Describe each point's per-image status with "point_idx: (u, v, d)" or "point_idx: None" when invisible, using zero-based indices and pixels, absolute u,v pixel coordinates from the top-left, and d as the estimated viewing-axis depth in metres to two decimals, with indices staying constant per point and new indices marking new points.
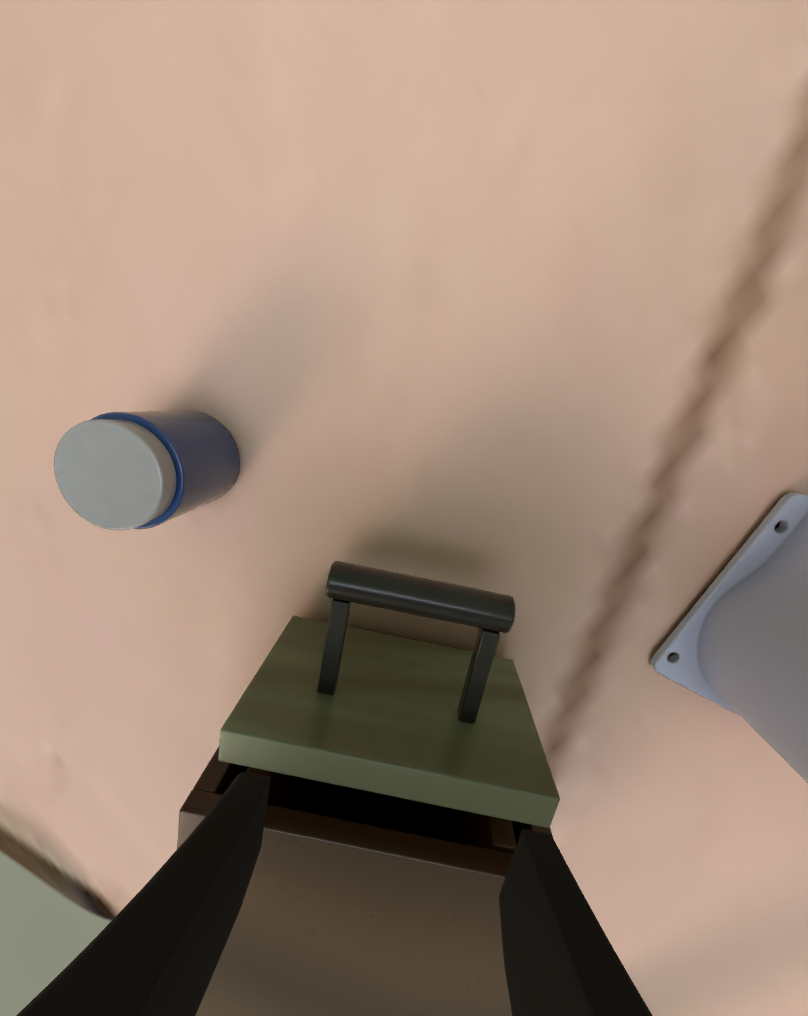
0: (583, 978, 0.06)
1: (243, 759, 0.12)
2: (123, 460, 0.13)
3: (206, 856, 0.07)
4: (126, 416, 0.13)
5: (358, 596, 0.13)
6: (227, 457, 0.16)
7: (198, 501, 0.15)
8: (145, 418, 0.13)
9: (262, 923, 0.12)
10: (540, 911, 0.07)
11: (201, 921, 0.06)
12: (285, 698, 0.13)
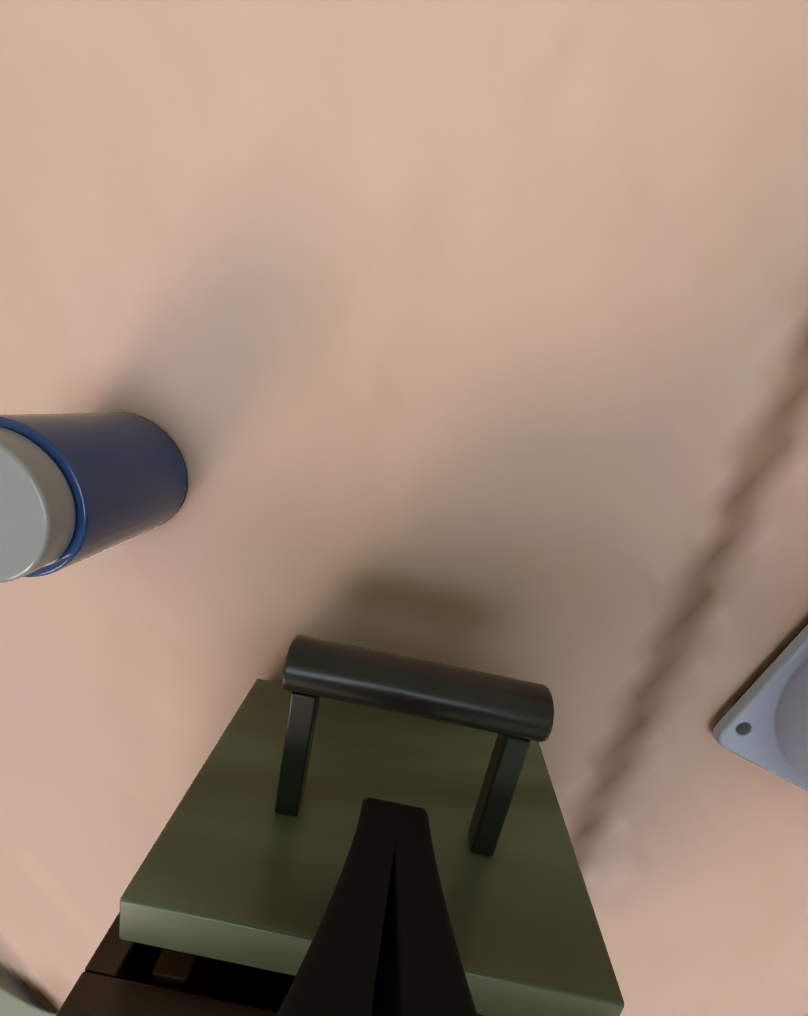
0: (404, 941, 0.06)
1: (156, 938, 0.08)
2: None
3: (369, 890, 0.07)
4: (0, 421, 0.09)
5: (328, 691, 0.09)
6: (165, 474, 0.12)
7: (121, 534, 0.11)
8: (28, 424, 0.09)
9: None
10: (391, 881, 0.07)
11: None
12: (227, 827, 0.10)
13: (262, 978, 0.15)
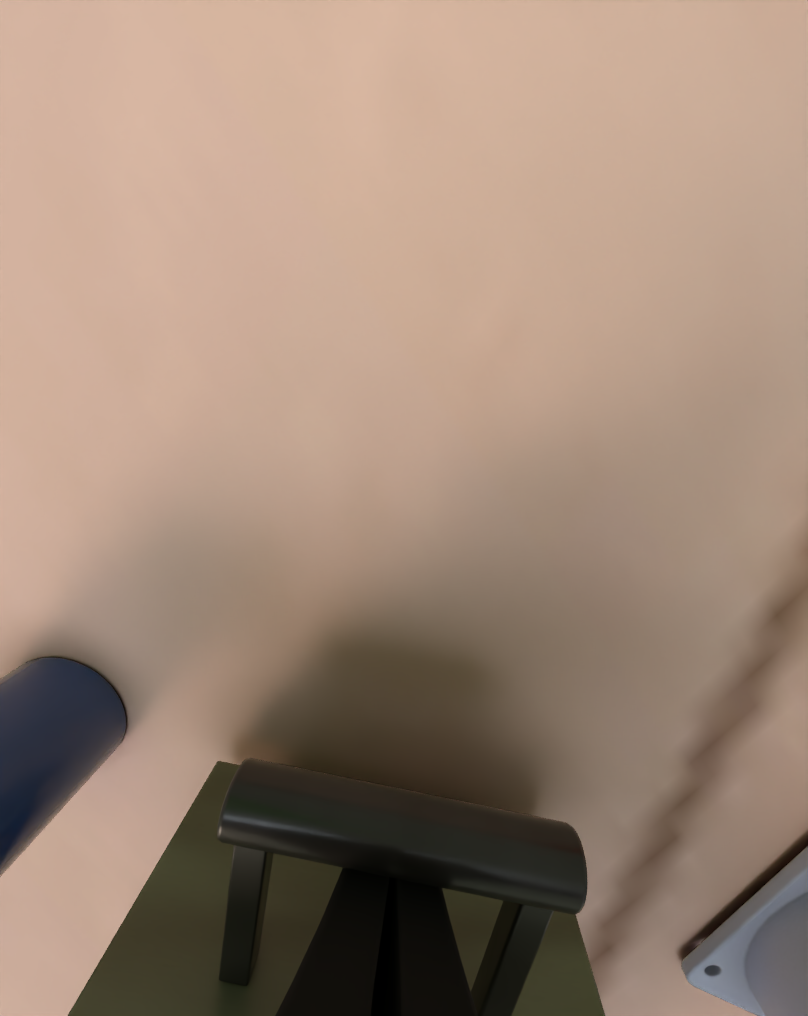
0: (404, 941, 0.06)
1: None
2: None
3: (369, 889, 0.07)
4: None
5: (279, 850, 0.06)
6: (98, 736, 0.12)
7: None
8: None
9: None
10: (392, 880, 0.07)
11: None
12: (152, 1012, 0.07)
13: None
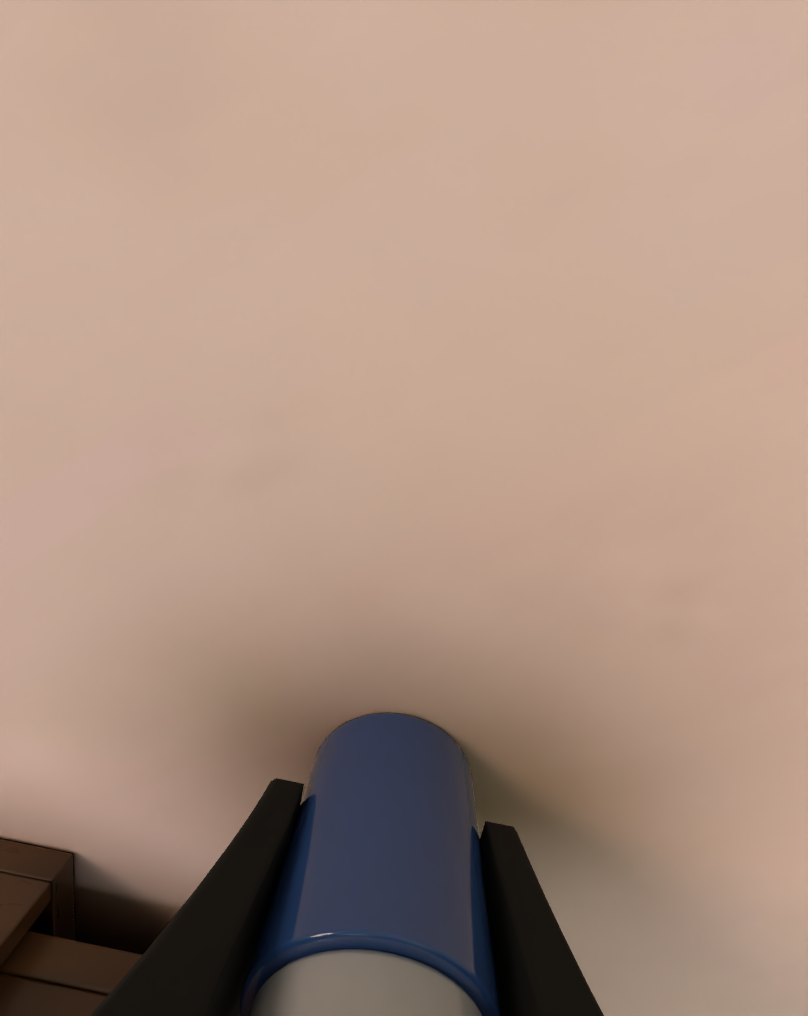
0: (531, 967, 0.06)
1: None
2: None
3: (249, 865, 0.07)
4: None
5: None
6: None
7: None
8: None
9: None
10: (497, 902, 0.07)
11: (247, 931, 0.06)
12: None
13: None
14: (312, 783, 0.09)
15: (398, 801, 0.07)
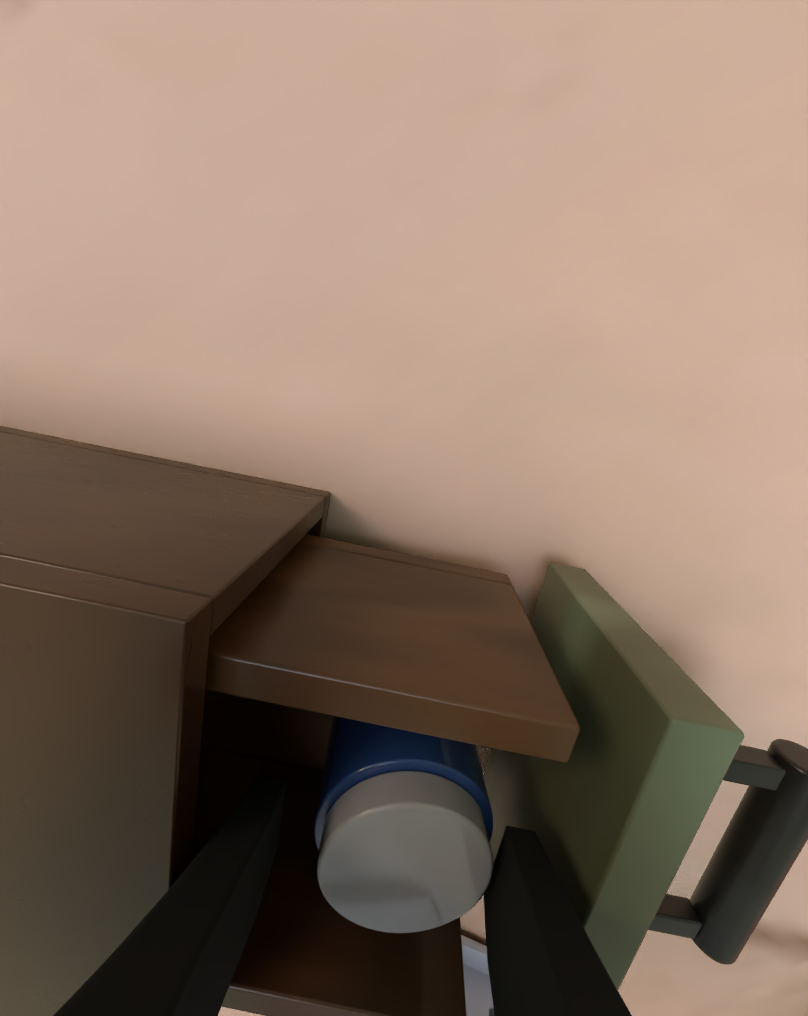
0: (560, 973, 0.06)
1: (673, 763, 0.07)
2: (431, 895, 0.08)
3: (227, 860, 0.07)
4: None
5: (804, 818, 0.09)
6: None
7: None
8: None
9: None
10: (521, 907, 0.07)
11: (224, 926, 0.06)
12: None
13: None
14: None
15: None
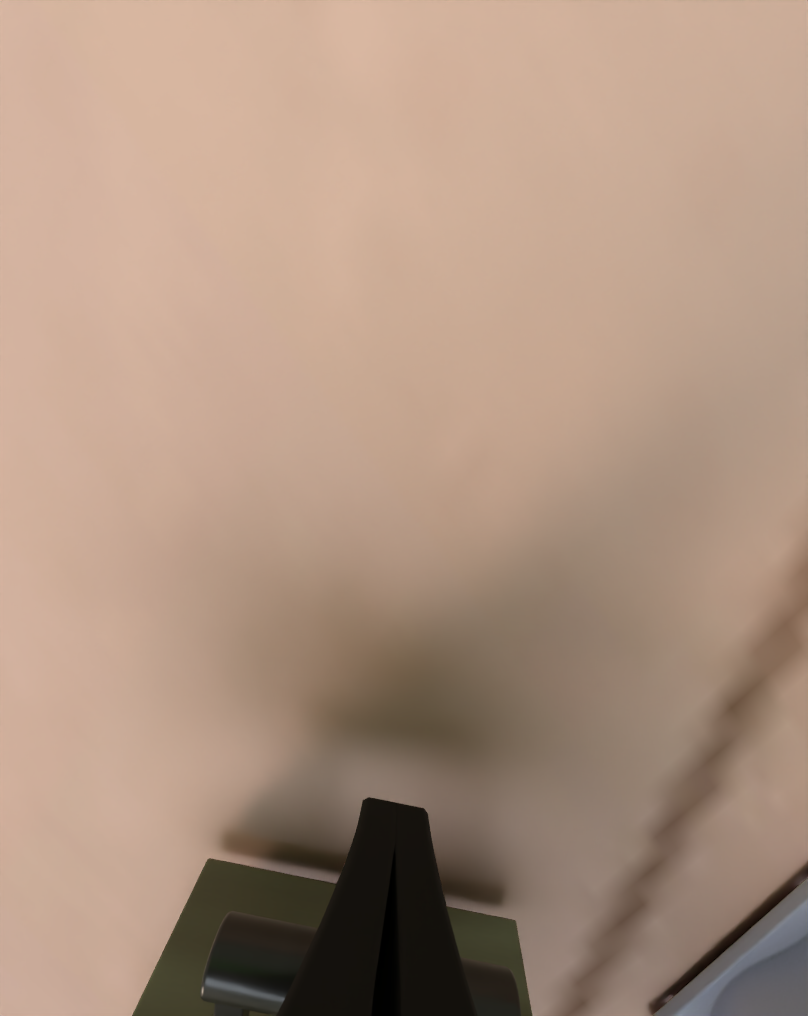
0: (403, 941, 0.06)
1: None
2: None
3: (369, 889, 0.07)
4: None
5: (254, 1010, 0.07)
6: None
7: None
8: None
9: None
10: (391, 881, 0.07)
11: None
12: None
13: None
14: None
15: None
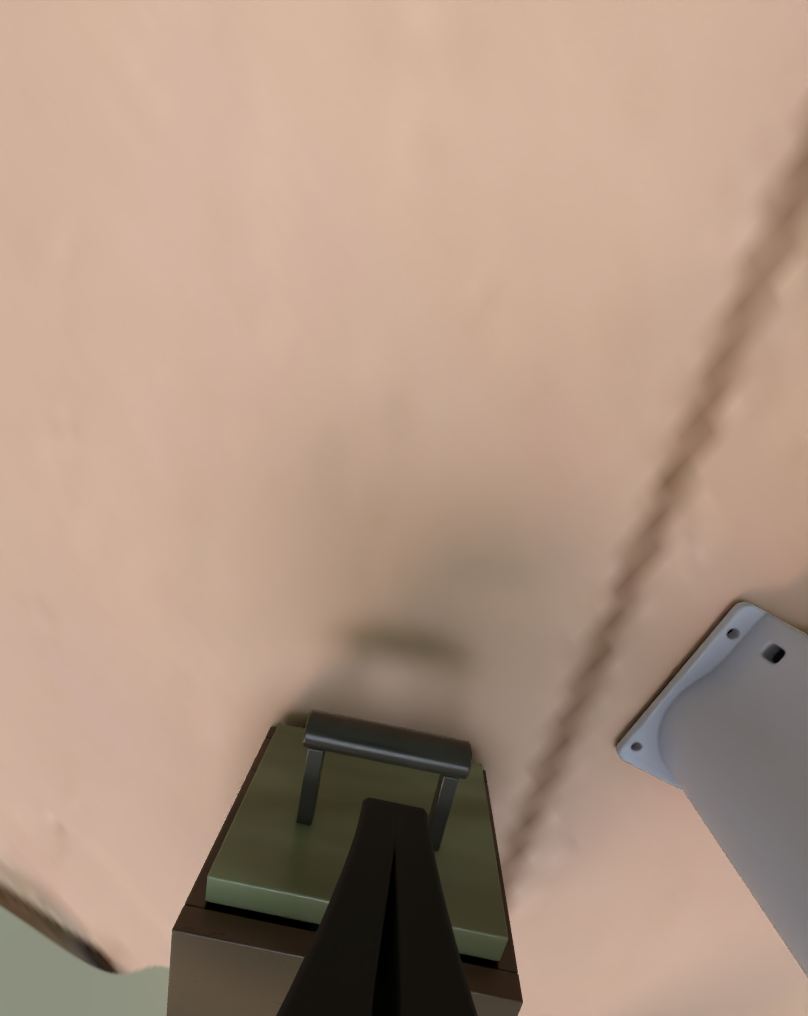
0: (403, 941, 0.06)
1: (227, 900, 0.14)
2: None
3: (369, 889, 0.07)
4: None
5: (331, 749, 0.14)
6: None
7: None
8: None
9: None
10: (391, 881, 0.07)
11: None
12: (267, 832, 0.15)
13: None
14: None
15: None
